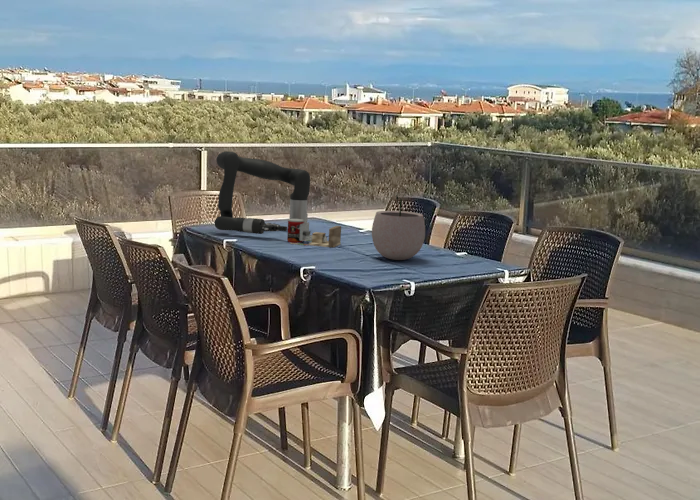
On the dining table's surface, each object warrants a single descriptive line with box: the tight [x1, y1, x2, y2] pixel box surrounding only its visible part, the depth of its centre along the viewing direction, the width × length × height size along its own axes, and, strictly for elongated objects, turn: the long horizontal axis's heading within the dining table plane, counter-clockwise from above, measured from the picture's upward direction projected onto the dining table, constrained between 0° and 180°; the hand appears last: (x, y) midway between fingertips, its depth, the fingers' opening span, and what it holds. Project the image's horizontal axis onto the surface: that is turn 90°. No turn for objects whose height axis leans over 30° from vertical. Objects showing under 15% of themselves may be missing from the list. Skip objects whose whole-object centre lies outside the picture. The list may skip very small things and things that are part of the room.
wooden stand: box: [289, 225, 342, 248], centre depth 399 cm, size 22×15×9 cm
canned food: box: [286, 218, 304, 244], centre depth 402 cm, size 8×8×11 cm
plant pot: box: [371, 193, 426, 261], centre depth 366 cm, size 24×24×30 cm
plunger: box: [299, 221, 328, 242], centre depth 399 cm, size 12×9×8 cm
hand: (286, 228), depth 403 cm, fingers closed
